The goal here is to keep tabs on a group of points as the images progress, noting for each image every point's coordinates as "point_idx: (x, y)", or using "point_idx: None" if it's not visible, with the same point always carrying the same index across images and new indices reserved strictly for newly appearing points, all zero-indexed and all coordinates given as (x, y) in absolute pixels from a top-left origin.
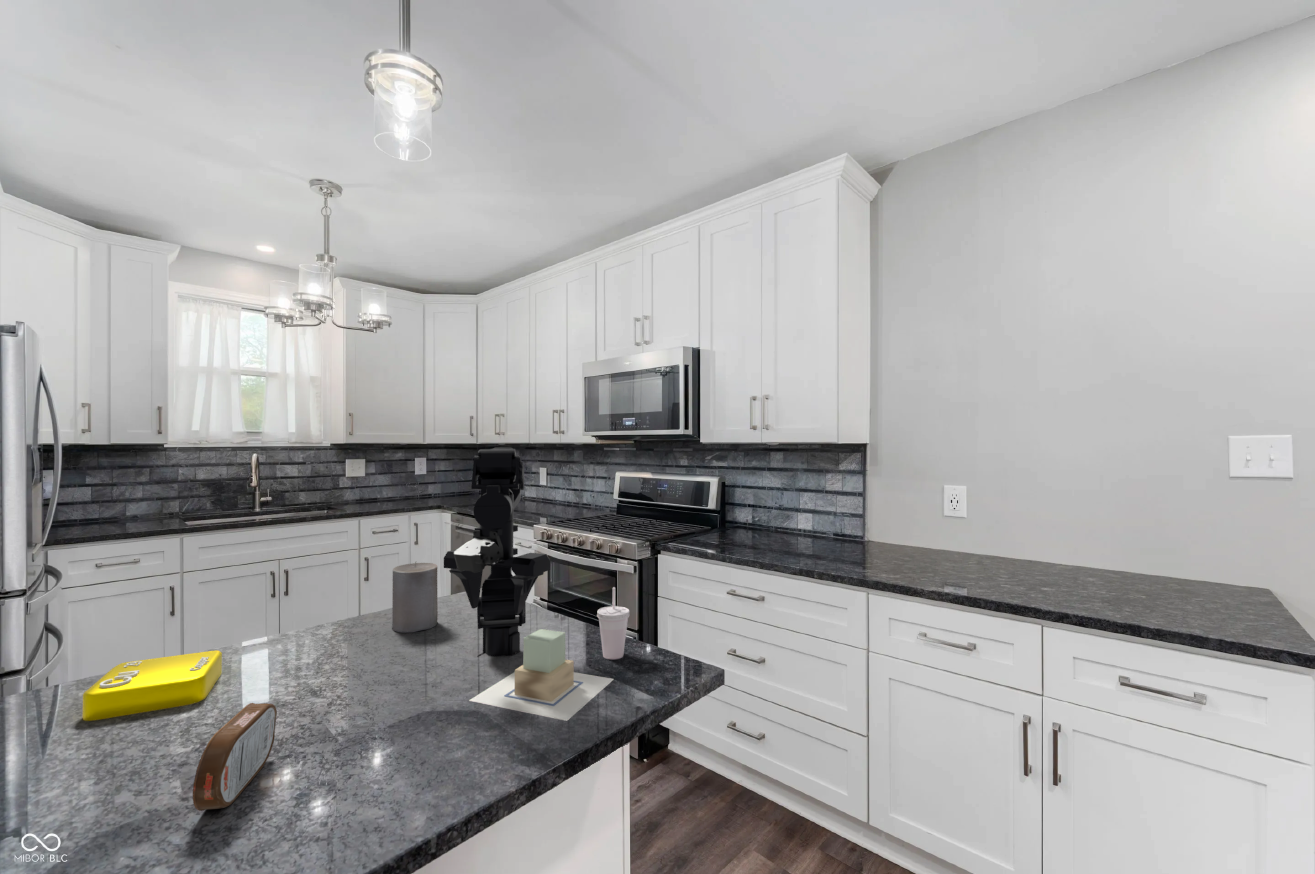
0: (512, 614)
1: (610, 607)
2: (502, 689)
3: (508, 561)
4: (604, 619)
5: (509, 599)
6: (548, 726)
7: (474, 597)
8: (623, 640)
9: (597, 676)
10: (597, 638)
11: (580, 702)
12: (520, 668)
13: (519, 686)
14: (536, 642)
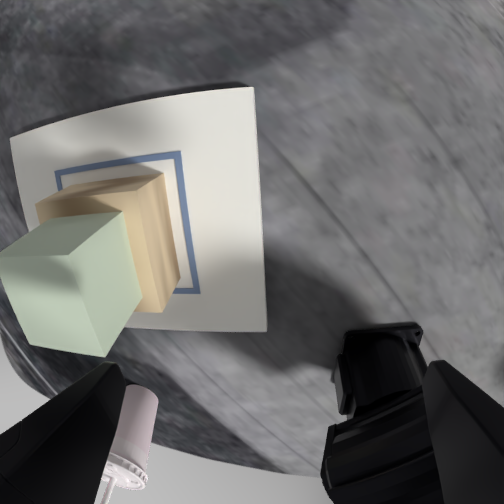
0: (340, 441)
1: (134, 486)
2: (214, 182)
3: None
4: None
5: (356, 481)
6: (40, 118)
7: (450, 417)
8: None
9: None
10: (236, 453)
11: (32, 210)
12: (129, 207)
13: (139, 179)
14: (31, 252)
